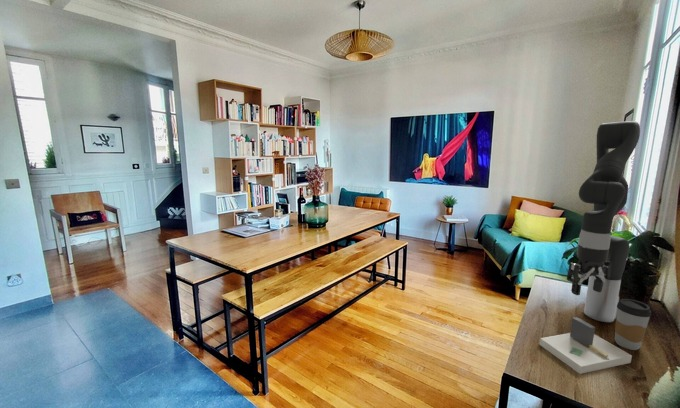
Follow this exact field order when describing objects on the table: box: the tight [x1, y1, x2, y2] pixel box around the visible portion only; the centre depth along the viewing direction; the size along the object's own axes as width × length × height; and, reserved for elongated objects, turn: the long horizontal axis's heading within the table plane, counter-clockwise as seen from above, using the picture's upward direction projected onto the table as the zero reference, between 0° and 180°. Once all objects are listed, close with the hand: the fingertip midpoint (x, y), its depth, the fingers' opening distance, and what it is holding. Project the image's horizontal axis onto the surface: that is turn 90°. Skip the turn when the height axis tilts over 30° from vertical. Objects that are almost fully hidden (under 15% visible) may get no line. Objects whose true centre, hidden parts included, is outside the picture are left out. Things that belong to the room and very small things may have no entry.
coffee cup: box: [614, 298, 652, 351], centre depth 102 cm, size 8×8×15 cm
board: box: [539, 332, 633, 375], centre depth 99 cm, size 20×14×3 cm
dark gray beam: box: [569, 316, 608, 357], centre depth 98 cm, size 2×11×7 cm, turn 13°
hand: (586, 292), depth 98 cm, fingers open, 8 cm apart
